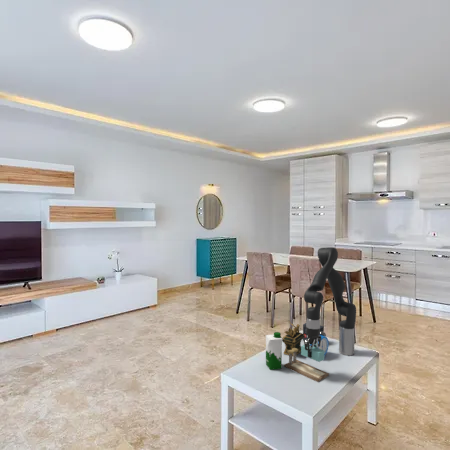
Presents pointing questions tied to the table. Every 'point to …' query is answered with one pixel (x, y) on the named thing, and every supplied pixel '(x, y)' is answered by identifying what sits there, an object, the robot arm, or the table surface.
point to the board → (304, 367)
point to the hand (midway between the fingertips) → (312, 355)
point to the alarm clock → (323, 343)
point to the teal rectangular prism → (313, 353)
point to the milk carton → (274, 351)
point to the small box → (305, 331)
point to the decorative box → (293, 339)
